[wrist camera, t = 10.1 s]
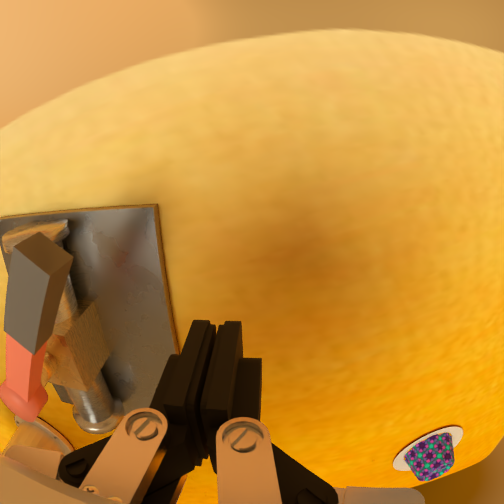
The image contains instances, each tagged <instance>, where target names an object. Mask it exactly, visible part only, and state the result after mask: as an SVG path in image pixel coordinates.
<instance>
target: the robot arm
mask: <svg viewBox="0 0 504 504" xmlns="http://www.w3.org/2000/svg"><path fill="white" fill-rule="evenodd" d="M261 388H262V358H243V345H242V325H241V321H225V324H224V325H219V327H218V331H217V334H216V326H215V325H212V324H210V321H209V320H193V322H192V325H191V328H190V330H189V333H188V336H187V338H186V341H185V344H184V347H183V349H182V352H181V355H179V354H171V355H170V356H169V358H168V361H167V363H166V366H165V368H164V371H163V373H162V376H161V378H160V381H159V383H158V386H157V388H156V391H155V393H154V396H153V399H152V401H151V404H150V406H149V408H139V409H136V410H133V411H131V412H130V413H128V414H127V415H126V416H125V417H124V418H123V419H122V421H121V422H120V424H119V426H118V427H117V429H116V430H115V432H114V433H113V435H111V436H109V437H107V438H104V439H102V440H100V441H97V442H95V443H93V444H90V445H88V446H85V447H83V448H80V449H78V450H75V451H74V449H73V447H72V446H71V444H70V443H69V442H68V441H67V440H66V439H65V438H64V437H63V436H62V435H61V434H60V433H59V432H58V431H56V430H55V429H54V428H53V427H51V426H50V425H49V424H47V423H46V422H44V421H43V420H41V419H39V418H38V417H36V419H35V421H34V422H27V421H25V420H23V419H21V418H20V417H18V416H17V415H15V417H14V419H15V423H16V425H17V426H18V428H17V430H16V432H15V433H14V435H13V436H12V438H11V440H10V441H9V443H8V444H7V446H6V448H5V449H4V451H3V453H2V454H0V504H176V503H177V500H178V498H179V495H180V493H181V491H182V488H183V486H184V484H185V481H186V478H187V473H189V472H190V471H192V470H194V468H195V466H201V464H202V459H208V456H210V459H211V463H212V467H213V470H214V472H215V473H216V474H217V481H218V503H219V504H425V501H424V497H423V496H422V494H421V493H420V492H419V491H417V490H415V489H411V488H369V487H351V486H347V487H346V488H335V487H332V486H331V485H330V484H328V483H327V482H325V481H324V480H322V479H321V478H319V477H318V476H316V475H315V474H314V473H312V472H311V471H309V470H308V469H306V468H305V467H304V466H302V465H301V464H299V463H298V462H297V461H295V460H294V459H293V458H291V457H290V456H288V455H287V454H286V453H284V452H283V451H282V450H281V449H279V448H278V447H277V446H275V445H274V444H273V443H271V439H270V434H269V431H268V429H267V427H266V426H265V425H264V424H263V423H261V422H260V412H261Z"/></svg>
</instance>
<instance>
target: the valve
mask: <svg viewBox="0 0 504 504" xmlns="http://www.w3.org/2000/svg"><path fill="white" fill-rule="evenodd" d="M39 231H40V232H41V233H42V234H44V235H45V236H46V237H48V238H49V239H50V240H51V241H53V242H54V243H55V244H57V245H58V246H59V247H61V248H62V249H63V250H65V251H66V252H68V253H69V254H70V255H72V256H73V257H74V258H73V261H72V264H71V268H70V271H69V274H68V277H67V280H66V284H65V287H64V290H63V294H62V297H61V301H60V305H59V309H58V312H57V316H56V320H55V324H54V329H53V333H52V335H51V337H50V338H49V339H48V341H47V346H46V351H45V357H44V362H43V368H42V375H41V381H40V383H41V385H42V386H43V387H45V386H46V384H47V383H48V382H50V383H52V384H53V386H54V388H55V390H56V391H57V393H58V395H59V397H60V399H61V401H63V402H66V403H70V404H74V407H73V416H74V419H75V420H76V422H77V424H78V425H79V426H80V428H81V429H83V430H84V431H86V432H88V433H92V434H103V433H107V432H110V431H112V430H113V429H115V428H116V427H117V426H119V424H120V422H121V421H122V419H123V418H124V416H126V415H127V414H128V413H130V412H131V411H133V410H136V409H139V408H149V406H150V404H151V401H152V399H153V396H154V393H155V391H156V388H157V386H158V383H159V381H160V378H161V376H162V373H163V371H164V368H165V366H166V363H167V361H168V358H169V356H170V355H171V354H179V355H180V353H179V348H178V343H177V338H176V332H175V327H174V321H173V315H172V309H171V303H170V297H169V291H168V284H167V278H166V271H165V263H164V256H163V248H162V240H161V231H160V222H159V213H158V204H147V205H130V206H114V207H100V208H86V209H74V210H63V211H52V212H42V213H32V214H23V215H14V216H6V217H0V246H1V250H2V254H3V258H4V262H5V265H6V269H7V272H8V276H9V270H10V264H11V257H12V252H13V246H15V245H17V244H18V243H20V242H22V241H23V240H25V239H27V238H29V237H30V236H32V235H34V234H36V233H37V232H39Z"/></svg>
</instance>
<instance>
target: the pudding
mask: <svg viewBox="0 0 504 504" xmlns="http://www.w3.org/2000/svg"><path fill="white" fill-rule="evenodd" d="M442 432H449V433H451V434H452V437H451V436H449V433H443V434H441V435H438V433H442ZM435 434H436V435H435ZM432 435H433V436H432ZM430 436H431V437H430ZM462 436H463V430H462V429H461V428H460V427H447V428H443V429H440V430H437V431H435V432H433V433H430V434H428V435H426V436H424V437H422V438H420V439H419V440H417V441H415V442H414V443H412V444H410V445H409V446H408V447H406V448H405V449H404V450H403V451H402V452H400V453H399V455H398V456H397V457H396V458H395V460H394V462H393V467H394V468H395V469H397V470H400V471H408V470H412V471H413V473H414V474H415V476H416V477H417V479H418V480H420V481H429V480H432V479H434V478H437V477H439V476H441V475H442V474H443V473H445V472H447V471H448V470H449V469H450V468H451V467H452V466H453V464H454V452H453V448H454V447H455V446H456V445H457V444H458V443H459V441H460V440H461V438H462ZM428 437H429V438H428ZM425 438H427V439H426V440H425V441H422V440H424V439H425ZM420 441H422V442H420ZM418 442H419V443H418ZM415 444H416V445H415ZM414 445H415V446H414ZM411 447H412V450H410V451H409V452H407V451H408V450H409V449H410V448H411ZM406 452H407V453H406ZM404 455H405V458H406V459H405V461H406V462H405V461H404Z"/></svg>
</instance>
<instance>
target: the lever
mask: <svg viewBox="0 0 504 504" xmlns="http://www.w3.org/2000/svg"><path fill="white" fill-rule="evenodd" d="M73 258H74V257H73V256H72V255H70V254H69V253H68V252H66V251H65V250H63V249H62V248H61V247H59V246H58V245H57V244H55V243H54V242H53V241H51V240H50V239H49V238H48V237H46V236H45V235H44V234H42V233H41V232H40V231H39V232H37V233H36V234H34V235H32V236H30V237H29V238H27V239H25V240H23V241H22V242H20V243H18V244H17V245H15V246H13V252H12V257H11V264H10V270H9V277H8V285H7V294H6V304H5V317H4V331H5V332H6V333H7V335H6V380H5V381H4V382H3V383H2V385H1V386H0V398H1V399H2V401H3V402H4V403H5V405H6V406H7V407H8V408H9V409H10V410H11V411H12V412H13V413H14V414H16V415H17V416H18V417H20V418H21V419H23V420H25V421H27V422H34V421H35V419H36V417H37V416H38V414H39V413H40V411H41V410H42V408H43V407H44V405H45V403H46V402H47V400H48V395H47V392H46V390H45V389H44V387H43V386H42V385H41V383H40V381H41V375H42V368H43V362H44V357H45V351H46V346H47V341H48V339H49V338H50V337H51V335H52V333H53V329H54V324H55V320H56V316H57V312H58V309H59V305H60V301H61V297H62V294H63V290H64V287H65V284H66V280H67V277H68V274H69V271H70V268H71V264H72V261H73Z"/></svg>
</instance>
